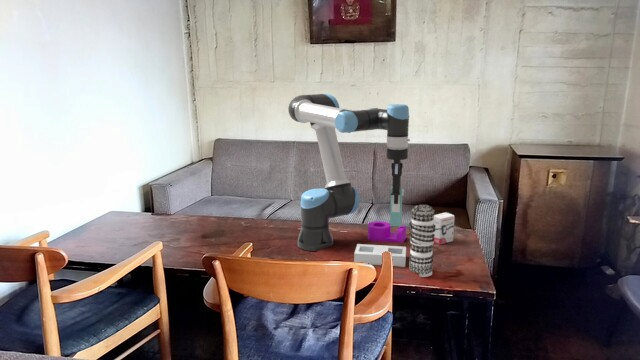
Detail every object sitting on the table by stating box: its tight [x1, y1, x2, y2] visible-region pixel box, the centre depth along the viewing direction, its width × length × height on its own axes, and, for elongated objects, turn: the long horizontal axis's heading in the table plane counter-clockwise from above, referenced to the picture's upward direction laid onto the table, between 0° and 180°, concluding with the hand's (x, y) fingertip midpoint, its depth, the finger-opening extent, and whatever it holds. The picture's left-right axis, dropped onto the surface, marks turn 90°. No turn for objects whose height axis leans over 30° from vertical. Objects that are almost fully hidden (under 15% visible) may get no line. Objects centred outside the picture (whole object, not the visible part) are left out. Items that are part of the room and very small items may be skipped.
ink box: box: [433, 211, 456, 246], centre depth 201 cm, size 8×5×12 cm, turn 123°
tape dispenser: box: [367, 220, 407, 243], centre depth 206 cm, size 16×10×6 cm, turn 67°
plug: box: [389, 185, 405, 227], centre depth 175 cm, size 5×4×14 cm
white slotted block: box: [353, 243, 407, 268], centre depth 181 cm, size 19×10×5 cm, turn 79°
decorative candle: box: [408, 204, 436, 278], centre depth 169 cm, size 9×9×25 cm
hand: (396, 209), depth 175 cm, fingers closed on plug, 4 cm apart
